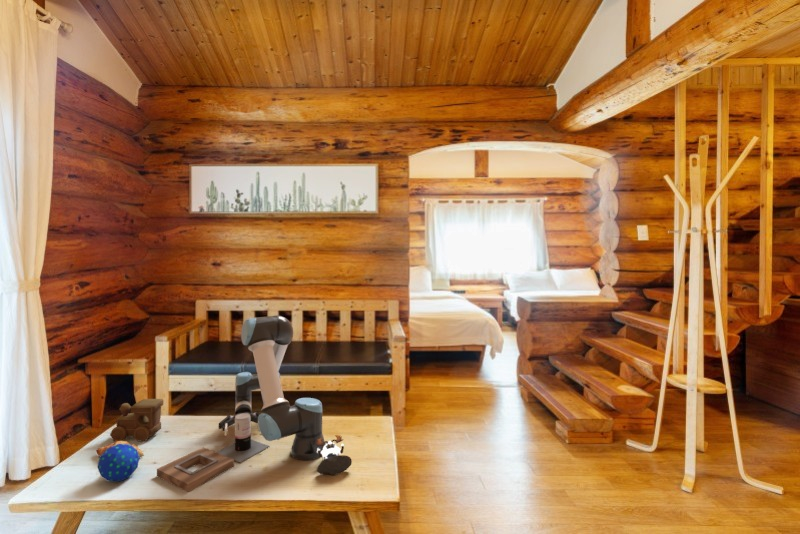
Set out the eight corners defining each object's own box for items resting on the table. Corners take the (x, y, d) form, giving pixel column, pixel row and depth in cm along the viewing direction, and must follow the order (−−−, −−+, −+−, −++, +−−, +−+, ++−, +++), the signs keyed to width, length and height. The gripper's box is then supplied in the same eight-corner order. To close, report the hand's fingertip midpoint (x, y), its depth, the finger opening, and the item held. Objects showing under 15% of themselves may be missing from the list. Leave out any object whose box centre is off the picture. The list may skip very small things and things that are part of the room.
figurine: (317, 464, 157) (313, 435, 174) (318, 485, 160) (314, 454, 176) (352, 457, 161) (345, 430, 178) (353, 477, 163) (346, 448, 180)
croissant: (147, 463, 176) (153, 442, 179) (132, 463, 167) (139, 442, 170) (101, 459, 177) (108, 439, 180) (84, 459, 168) (91, 438, 171)
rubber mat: (269, 447, 183) (269, 445, 183) (240, 463, 170) (240, 462, 170) (245, 438, 191) (245, 437, 191) (215, 453, 177) (215, 452, 177)
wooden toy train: (165, 431, 198) (164, 397, 197) (151, 442, 186) (151, 407, 186) (123, 431, 197) (122, 398, 196) (107, 442, 186) (106, 407, 185)
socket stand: (233, 466, 167) (233, 458, 167) (188, 491, 150) (187, 483, 149) (203, 453, 177) (203, 446, 177) (156, 476, 159) (156, 467, 159)
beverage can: (232, 449, 180) (232, 416, 180) (246, 443, 185) (246, 411, 184) (239, 454, 176) (238, 420, 175) (253, 448, 181) (253, 415, 180)
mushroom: (114, 445, 168) (131, 430, 162) (136, 471, 168) (153, 457, 162) (79, 469, 155) (96, 454, 149) (103, 498, 155) (121, 484, 149)
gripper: (270, 415, 201) (272, 434, 181) (215, 422, 193) (211, 443, 173) (270, 400, 201) (272, 417, 181) (215, 407, 192) (211, 425, 172)
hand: (242, 430), depth 177 cm, fingers open, 13 cm apart
